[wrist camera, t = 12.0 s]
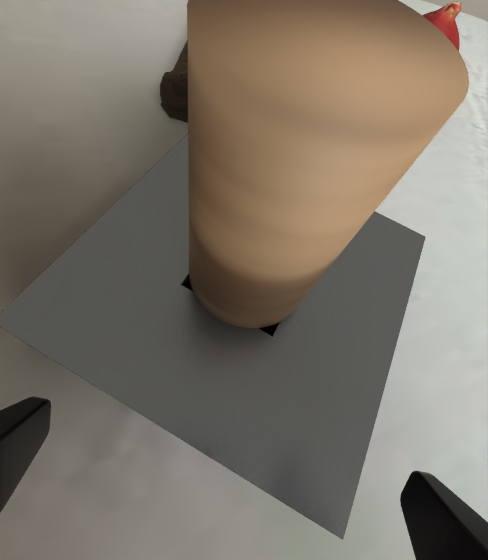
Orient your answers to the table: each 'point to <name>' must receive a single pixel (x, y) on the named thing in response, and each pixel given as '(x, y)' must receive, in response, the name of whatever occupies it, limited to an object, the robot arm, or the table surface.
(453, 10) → the red pomegranate
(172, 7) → the table surface
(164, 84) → the hand tool
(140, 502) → the table surface
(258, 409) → the socket block
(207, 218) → the walnut pin
